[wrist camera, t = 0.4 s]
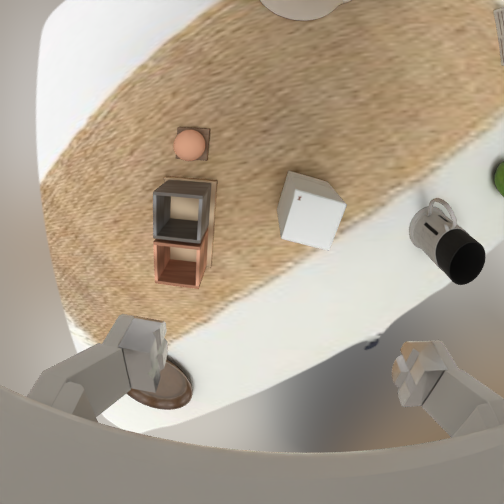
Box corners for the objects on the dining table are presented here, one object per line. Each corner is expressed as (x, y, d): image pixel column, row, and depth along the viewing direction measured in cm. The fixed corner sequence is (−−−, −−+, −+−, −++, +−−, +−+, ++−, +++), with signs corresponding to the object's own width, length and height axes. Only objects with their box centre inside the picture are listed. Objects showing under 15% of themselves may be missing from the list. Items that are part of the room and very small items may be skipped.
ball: (179, 127, 48) (170, 130, 44) (209, 129, 48) (203, 131, 44) (177, 157, 50) (168, 162, 46) (206, 159, 51) (200, 164, 46)
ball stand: (179, 127, 49) (177, 127, 48) (210, 128, 49) (209, 129, 48) (177, 157, 51) (175, 158, 50) (207, 159, 51) (206, 160, 50)
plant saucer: (108, 375, 75) (104, 383, 72) (133, 332, 68) (129, 341, 65) (173, 409, 80) (171, 418, 77) (209, 374, 72) (207, 384, 69)
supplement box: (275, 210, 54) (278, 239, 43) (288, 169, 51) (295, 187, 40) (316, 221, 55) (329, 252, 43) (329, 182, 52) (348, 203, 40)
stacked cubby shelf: (165, 176, 52) (148, 189, 44) (217, 180, 52) (208, 194, 44) (165, 259, 59) (150, 283, 51) (211, 265, 59) (203, 291, 51)
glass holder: (416, 256, 57) (450, 297, 43) (393, 193, 52) (431, 223, 38) (450, 236, 55) (490, 271, 41) (431, 173, 50) (477, 196, 36)
